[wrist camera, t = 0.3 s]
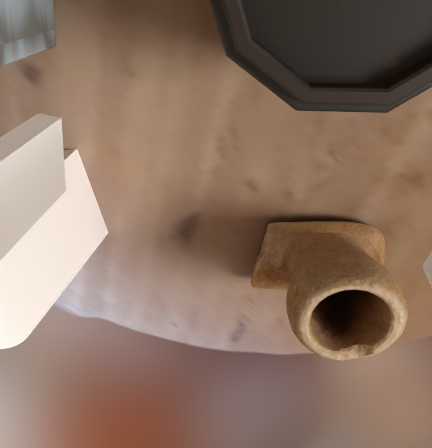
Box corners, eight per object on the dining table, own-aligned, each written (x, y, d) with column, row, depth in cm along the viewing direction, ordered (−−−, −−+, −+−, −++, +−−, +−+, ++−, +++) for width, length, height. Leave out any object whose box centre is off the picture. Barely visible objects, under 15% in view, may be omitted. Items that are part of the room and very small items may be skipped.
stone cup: (393, 201, 43) (439, 299, 30) (374, 284, 49) (404, 392, 37) (253, 196, 45) (242, 286, 32) (252, 276, 51) (242, 376, 39)
